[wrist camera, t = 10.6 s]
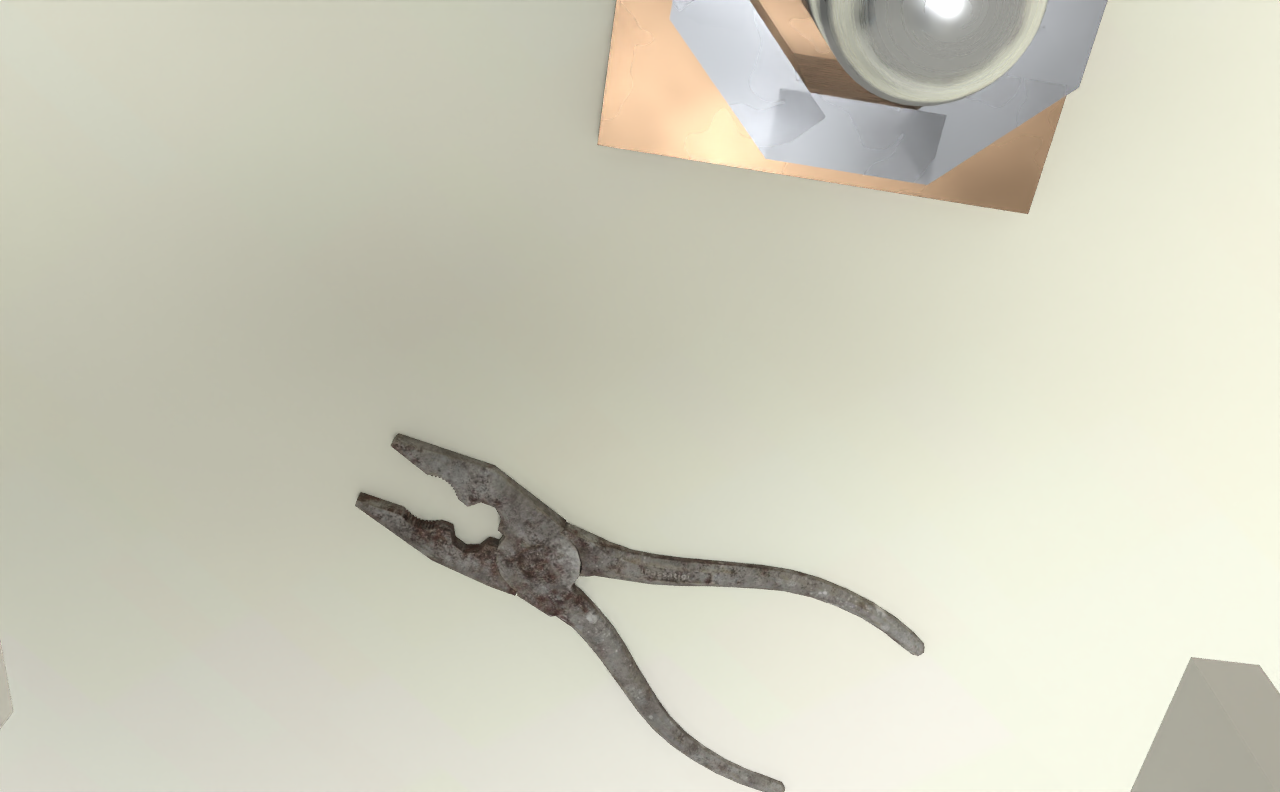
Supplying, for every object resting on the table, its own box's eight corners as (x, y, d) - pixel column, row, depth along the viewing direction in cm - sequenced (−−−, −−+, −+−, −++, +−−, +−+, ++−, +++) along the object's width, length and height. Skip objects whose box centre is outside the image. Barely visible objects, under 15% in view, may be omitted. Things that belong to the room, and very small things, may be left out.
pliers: (820, 815, 42) (309, 650, 39) (818, 797, 42) (316, 635, 40) (944, 629, 37) (378, 431, 35) (939, 613, 38) (385, 418, 36)
